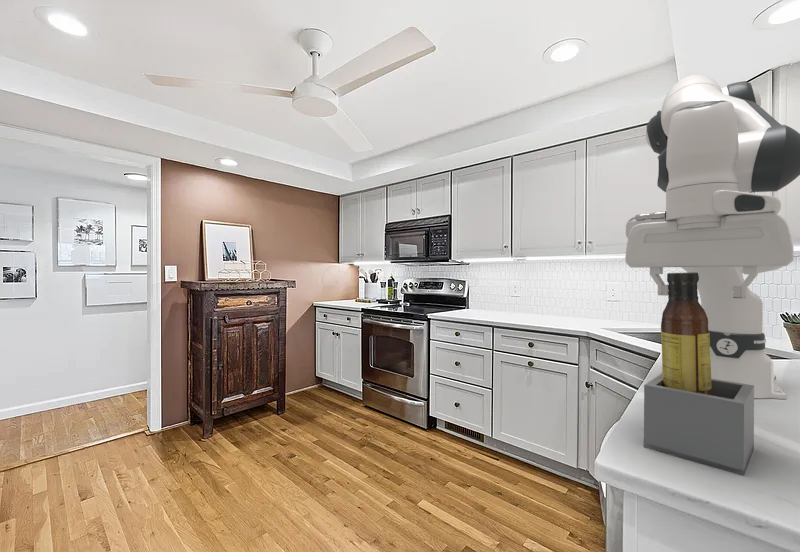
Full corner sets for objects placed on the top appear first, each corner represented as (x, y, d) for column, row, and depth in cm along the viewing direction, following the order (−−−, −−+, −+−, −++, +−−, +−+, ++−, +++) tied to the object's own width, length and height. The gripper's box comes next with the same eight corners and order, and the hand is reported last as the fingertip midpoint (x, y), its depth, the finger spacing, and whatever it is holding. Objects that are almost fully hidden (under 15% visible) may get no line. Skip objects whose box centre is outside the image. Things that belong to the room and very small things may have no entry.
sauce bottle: (698, 392, 63) (698, 272, 63) (721, 404, 57) (721, 272, 56) (653, 389, 64) (654, 272, 64) (671, 401, 58) (671, 272, 58)
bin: (665, 427, 68) (665, 371, 67) (753, 449, 59) (754, 385, 59) (643, 448, 59) (644, 384, 59) (743, 478, 51) (744, 403, 51)
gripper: (619, 213, 64) (619, 294, 65) (792, 195, 49) (792, 301, 49) (631, 217, 69) (631, 293, 69) (794, 201, 54) (793, 299, 54)
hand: (699, 296), depth 59 cm, fingers open, 8 cm apart
